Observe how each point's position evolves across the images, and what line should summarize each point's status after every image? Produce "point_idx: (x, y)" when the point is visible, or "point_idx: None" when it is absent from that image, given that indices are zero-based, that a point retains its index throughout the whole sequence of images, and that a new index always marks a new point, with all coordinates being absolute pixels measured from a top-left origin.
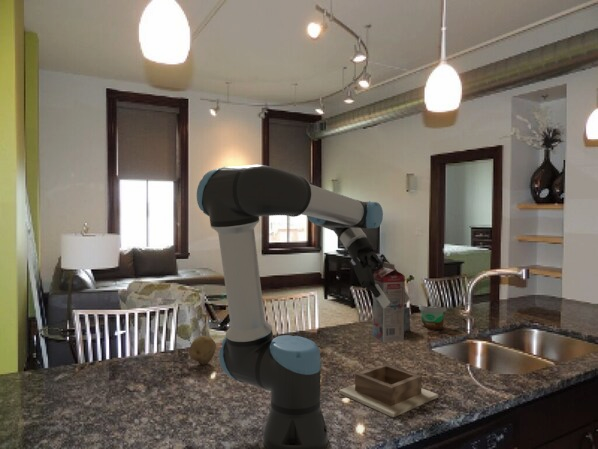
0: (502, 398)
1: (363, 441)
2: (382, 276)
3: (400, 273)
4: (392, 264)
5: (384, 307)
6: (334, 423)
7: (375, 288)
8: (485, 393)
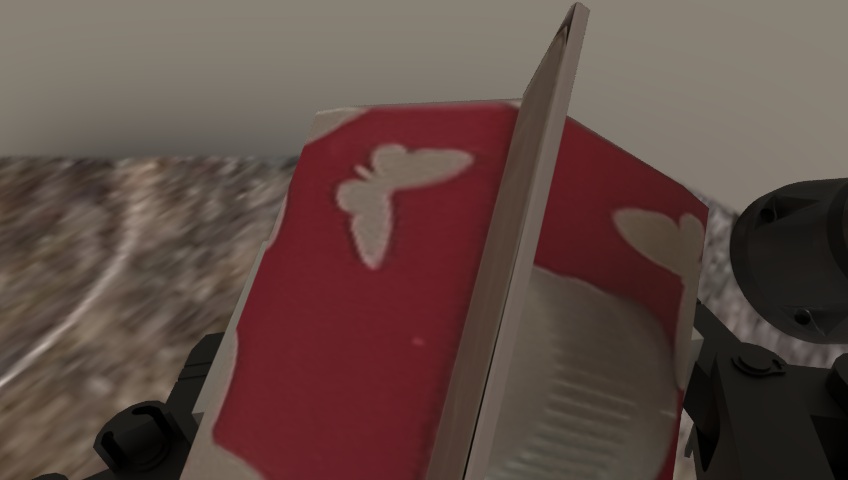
0: (167, 164)
1: None
2: (700, 251)
3: (339, 161)
4: (570, 89)
5: None
6: None
7: (694, 323)
8: (171, 209)
